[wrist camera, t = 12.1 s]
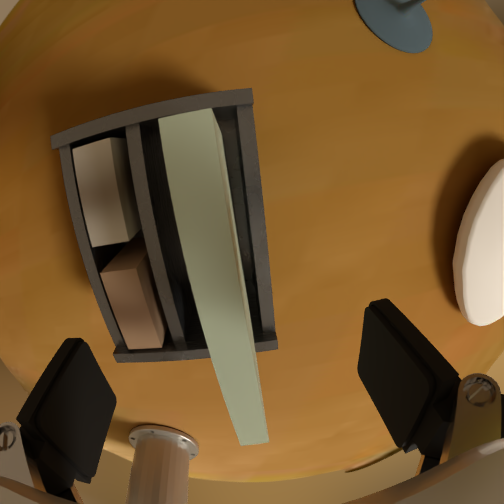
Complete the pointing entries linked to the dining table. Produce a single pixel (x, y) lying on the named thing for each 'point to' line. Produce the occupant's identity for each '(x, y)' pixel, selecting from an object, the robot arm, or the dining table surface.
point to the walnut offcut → (135, 296)
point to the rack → (164, 222)
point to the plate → (482, 252)
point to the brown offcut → (107, 191)
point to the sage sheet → (215, 261)
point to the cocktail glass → (398, 23)
